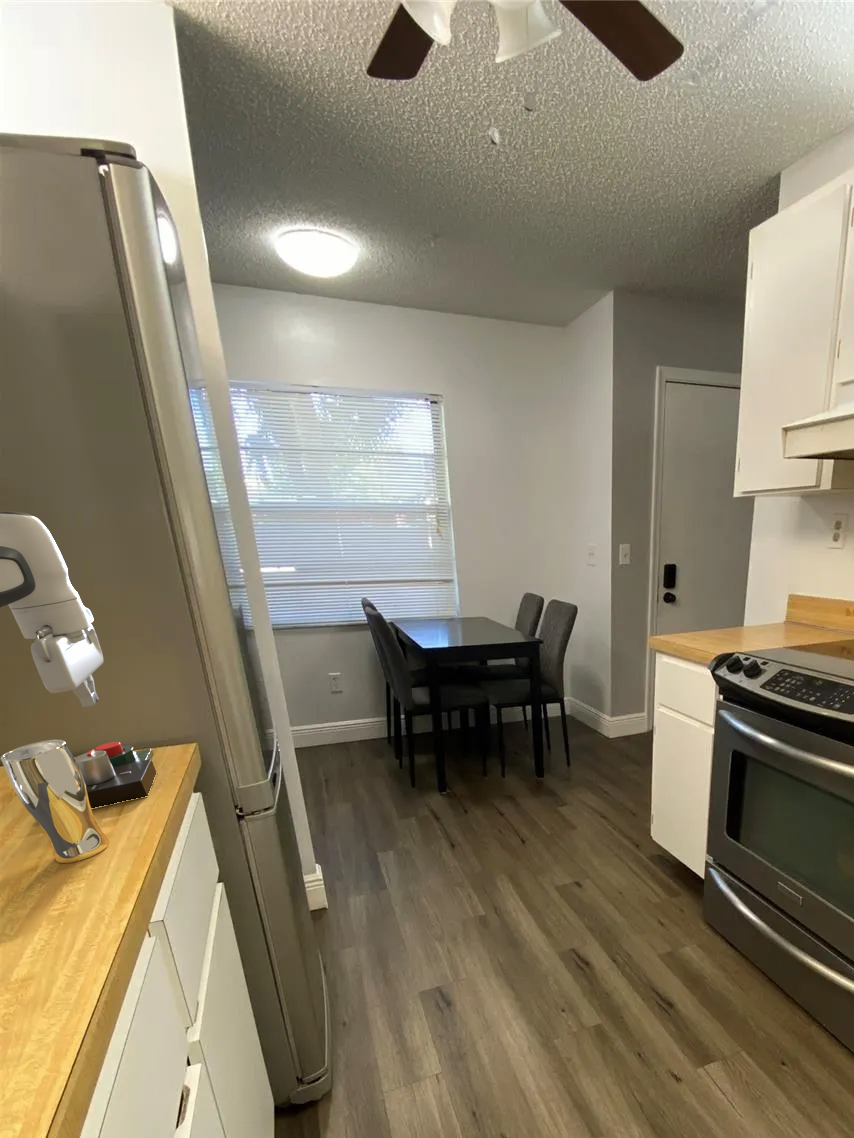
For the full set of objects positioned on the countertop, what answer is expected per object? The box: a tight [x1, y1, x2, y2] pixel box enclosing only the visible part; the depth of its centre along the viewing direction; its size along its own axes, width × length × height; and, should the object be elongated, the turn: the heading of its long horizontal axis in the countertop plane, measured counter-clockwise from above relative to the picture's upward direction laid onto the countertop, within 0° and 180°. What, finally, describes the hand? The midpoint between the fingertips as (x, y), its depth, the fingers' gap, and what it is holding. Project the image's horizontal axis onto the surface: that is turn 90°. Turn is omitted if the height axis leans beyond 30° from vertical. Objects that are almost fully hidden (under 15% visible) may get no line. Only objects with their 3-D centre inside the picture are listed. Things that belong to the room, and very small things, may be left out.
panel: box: [86, 759, 157, 808], centre depth 102 cm, size 13×10×3 cm
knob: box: [74, 749, 116, 785], centre depth 100 cm, size 4×4×4 cm
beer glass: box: [0, 739, 110, 864], centre depth 83 cm, size 7×7×15 cm
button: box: [95, 741, 123, 757], centre depth 109 cm, size 4×4×2 cm
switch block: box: [108, 744, 155, 767], centre depth 110 cm, size 10×8×4 cm
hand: (91, 704), depth 105 cm, fingers closed
